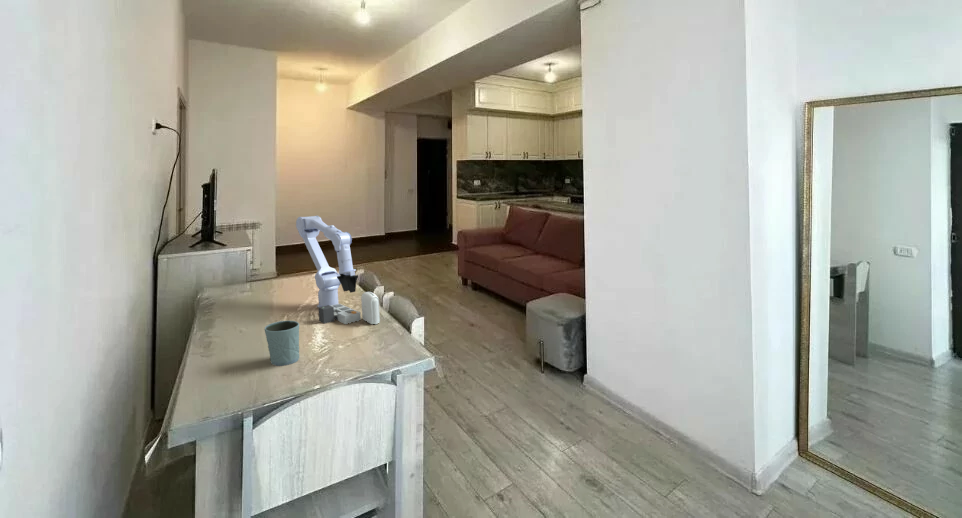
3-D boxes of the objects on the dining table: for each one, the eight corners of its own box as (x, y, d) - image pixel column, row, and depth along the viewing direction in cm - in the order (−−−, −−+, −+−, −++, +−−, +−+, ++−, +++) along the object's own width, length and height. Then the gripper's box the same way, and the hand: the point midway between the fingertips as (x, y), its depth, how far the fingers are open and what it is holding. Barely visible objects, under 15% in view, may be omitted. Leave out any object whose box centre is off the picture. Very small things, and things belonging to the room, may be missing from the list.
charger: (319, 321, 182) (318, 306, 181) (335, 317, 187) (334, 303, 186) (324, 323, 179) (323, 309, 178) (340, 319, 184) (339, 305, 183)
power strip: (324, 314, 190) (324, 305, 190) (339, 311, 195) (339, 302, 195) (345, 324, 178) (344, 314, 177) (360, 320, 183) (360, 311, 182)
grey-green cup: (306, 354, 148) (303, 320, 146) (294, 367, 138) (291, 330, 136) (275, 354, 148) (272, 320, 145) (262, 367, 138) (258, 331, 135)
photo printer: (360, 319, 184) (359, 290, 182) (370, 317, 187) (369, 289, 185) (371, 325, 176) (370, 296, 174) (381, 323, 179) (380, 294, 177)
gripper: (360, 259, 185) (364, 290, 186) (348, 259, 197) (352, 288, 198) (343, 261, 181) (348, 294, 182) (332, 261, 192) (337, 291, 194)
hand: (349, 291), depth 190 cm, fingers open, 7 cm apart
